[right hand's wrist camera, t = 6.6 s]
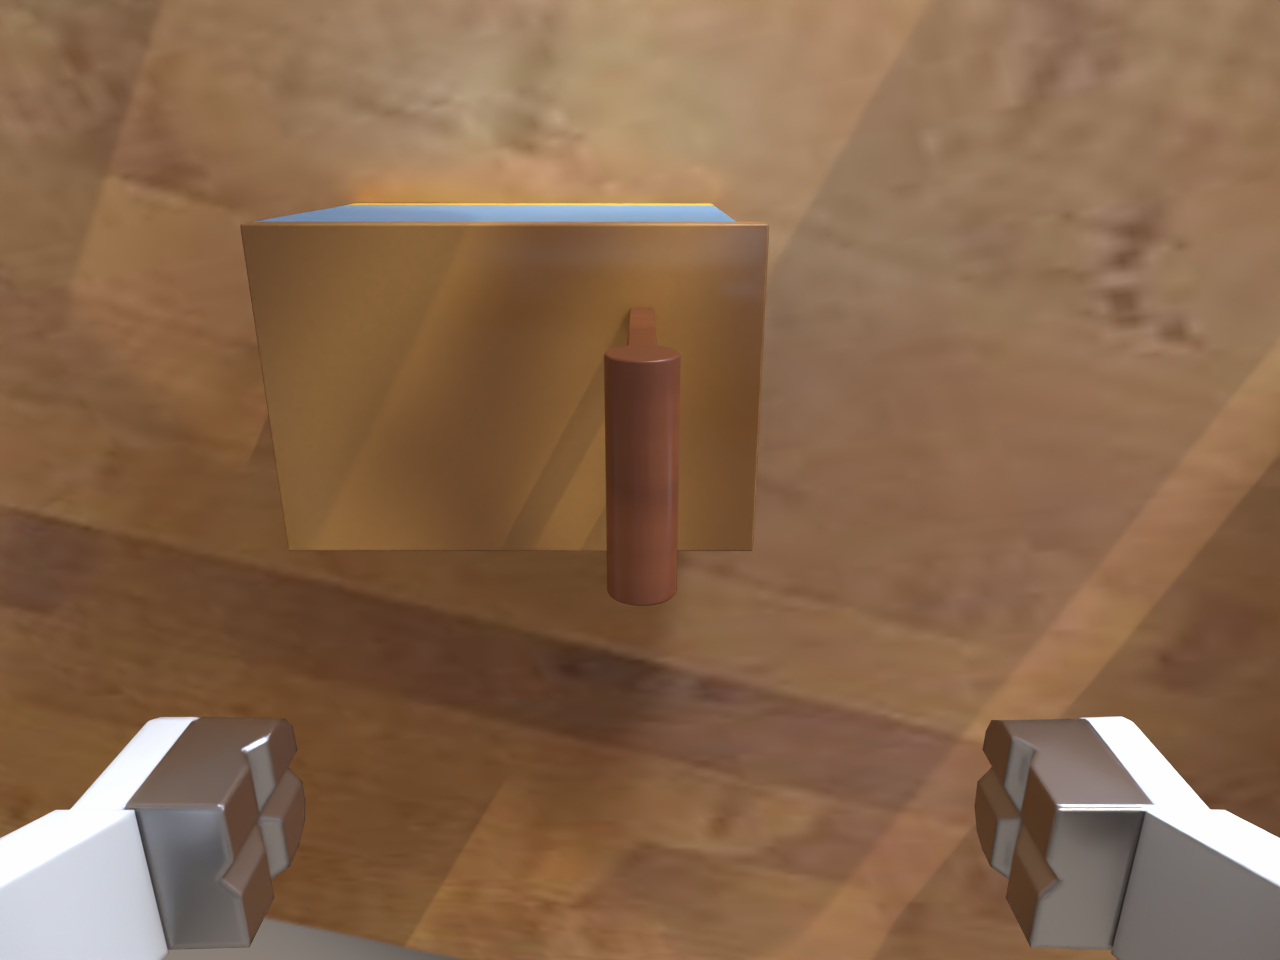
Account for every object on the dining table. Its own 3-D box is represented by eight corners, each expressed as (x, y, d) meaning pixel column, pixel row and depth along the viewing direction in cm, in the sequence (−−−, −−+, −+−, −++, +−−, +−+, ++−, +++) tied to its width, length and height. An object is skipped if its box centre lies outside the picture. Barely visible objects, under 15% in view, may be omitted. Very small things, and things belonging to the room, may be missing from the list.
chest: (712, 203, 34) (738, 221, 25) (705, 447, 38) (726, 540, 29) (354, 203, 34) (251, 220, 25) (380, 447, 38) (297, 540, 29)
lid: (765, 221, 25) (822, 252, 17) (750, 541, 28) (792, 688, 21) (251, 221, 25) (73, 252, 17) (297, 540, 28) (166, 688, 21)
